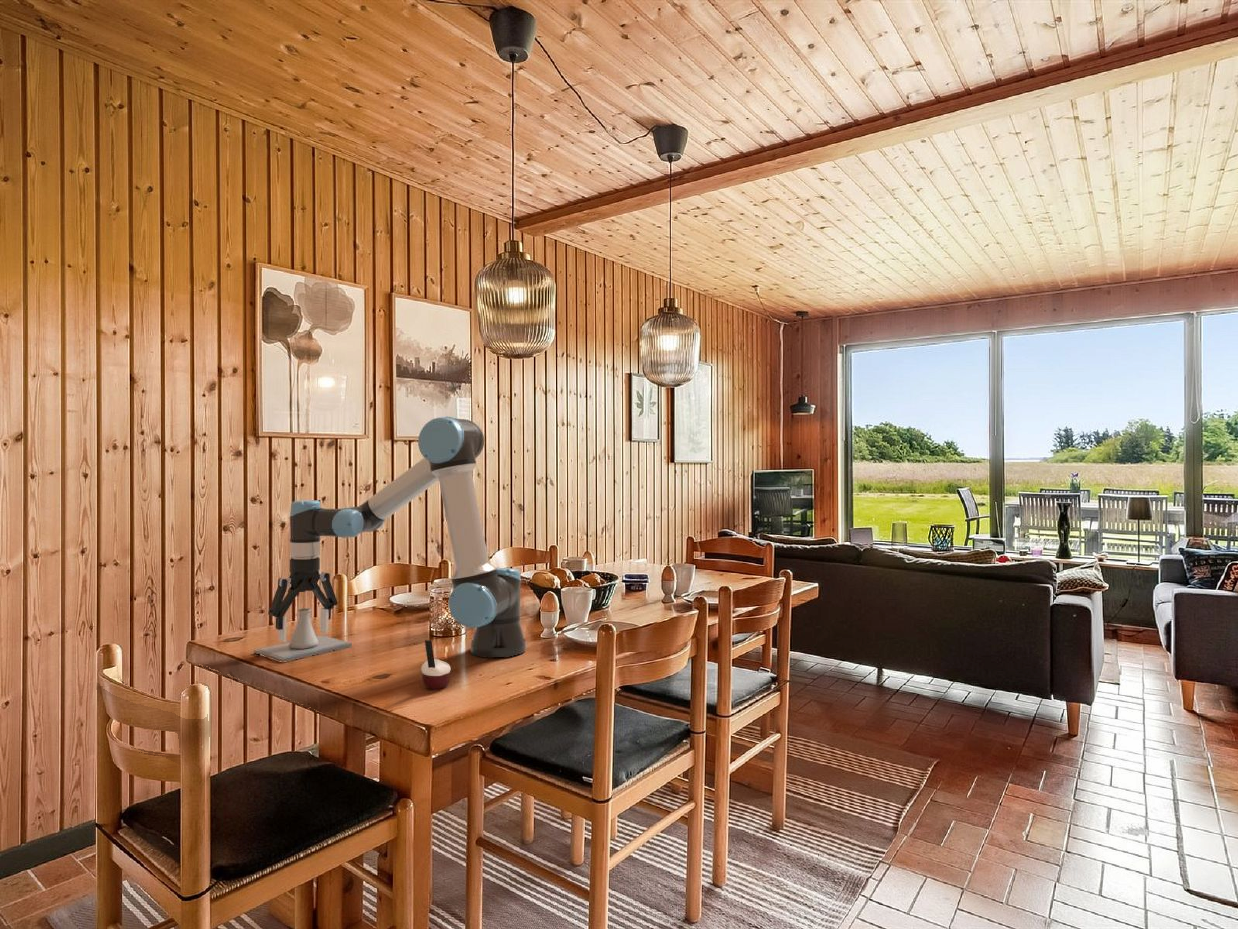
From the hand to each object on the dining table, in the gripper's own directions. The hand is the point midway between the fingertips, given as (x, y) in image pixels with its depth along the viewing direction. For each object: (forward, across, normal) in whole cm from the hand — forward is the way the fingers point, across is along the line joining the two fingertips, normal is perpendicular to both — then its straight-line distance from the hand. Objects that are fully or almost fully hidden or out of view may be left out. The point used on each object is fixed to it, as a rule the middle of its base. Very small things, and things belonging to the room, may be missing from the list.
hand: (303, 636), depth 192 cm
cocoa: (+4, -1, +52) cm, 52 cm away
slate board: (+4, 0, 0) cm, 4 cm away
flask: (+3, 0, 0) cm, 3 cm away
